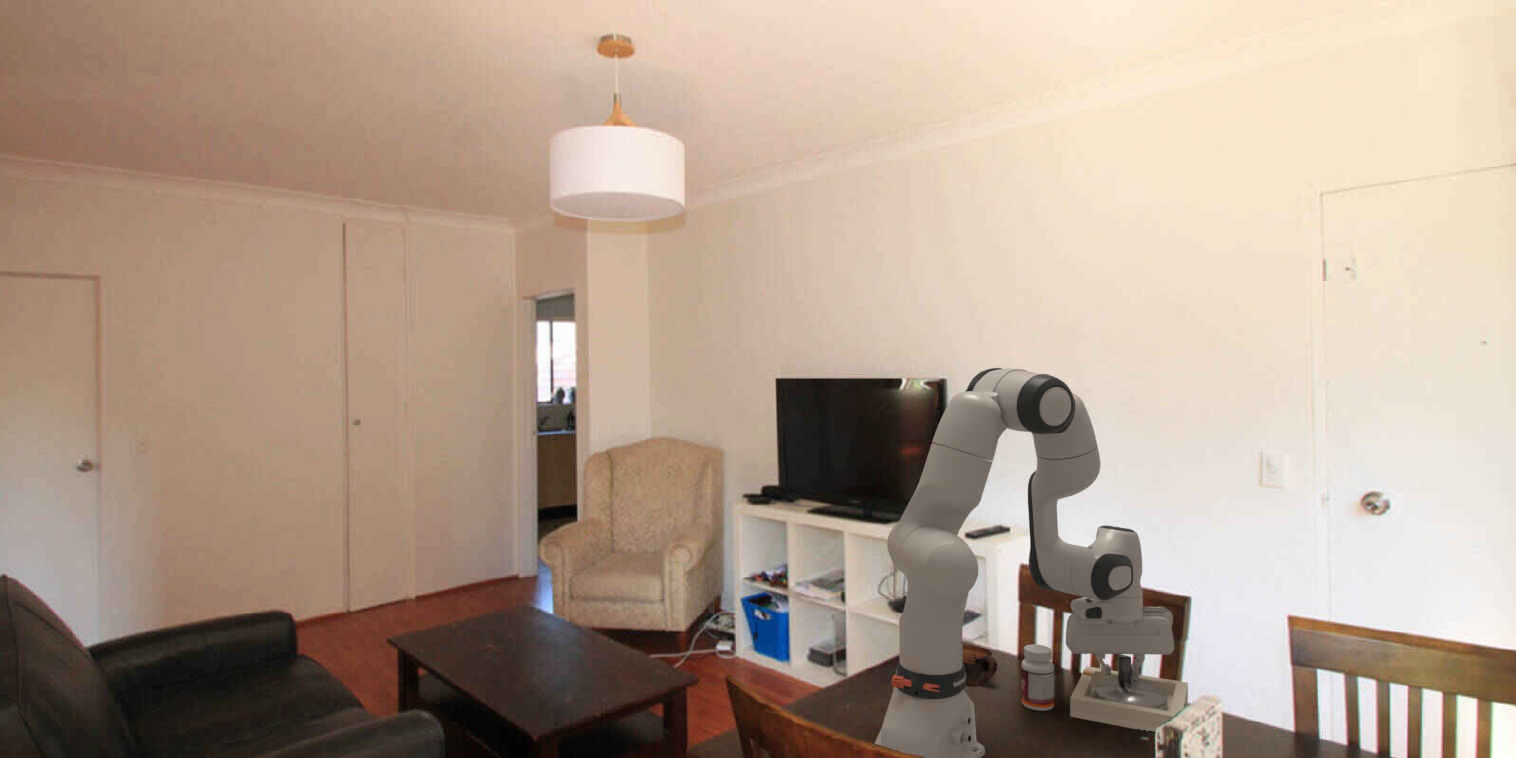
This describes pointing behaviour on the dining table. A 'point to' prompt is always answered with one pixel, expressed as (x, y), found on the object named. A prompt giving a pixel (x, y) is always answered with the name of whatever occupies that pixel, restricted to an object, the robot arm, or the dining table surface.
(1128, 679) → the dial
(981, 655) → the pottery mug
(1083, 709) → the tray
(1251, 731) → the dining table surface
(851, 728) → the dining table surface
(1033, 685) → the pill bottle
